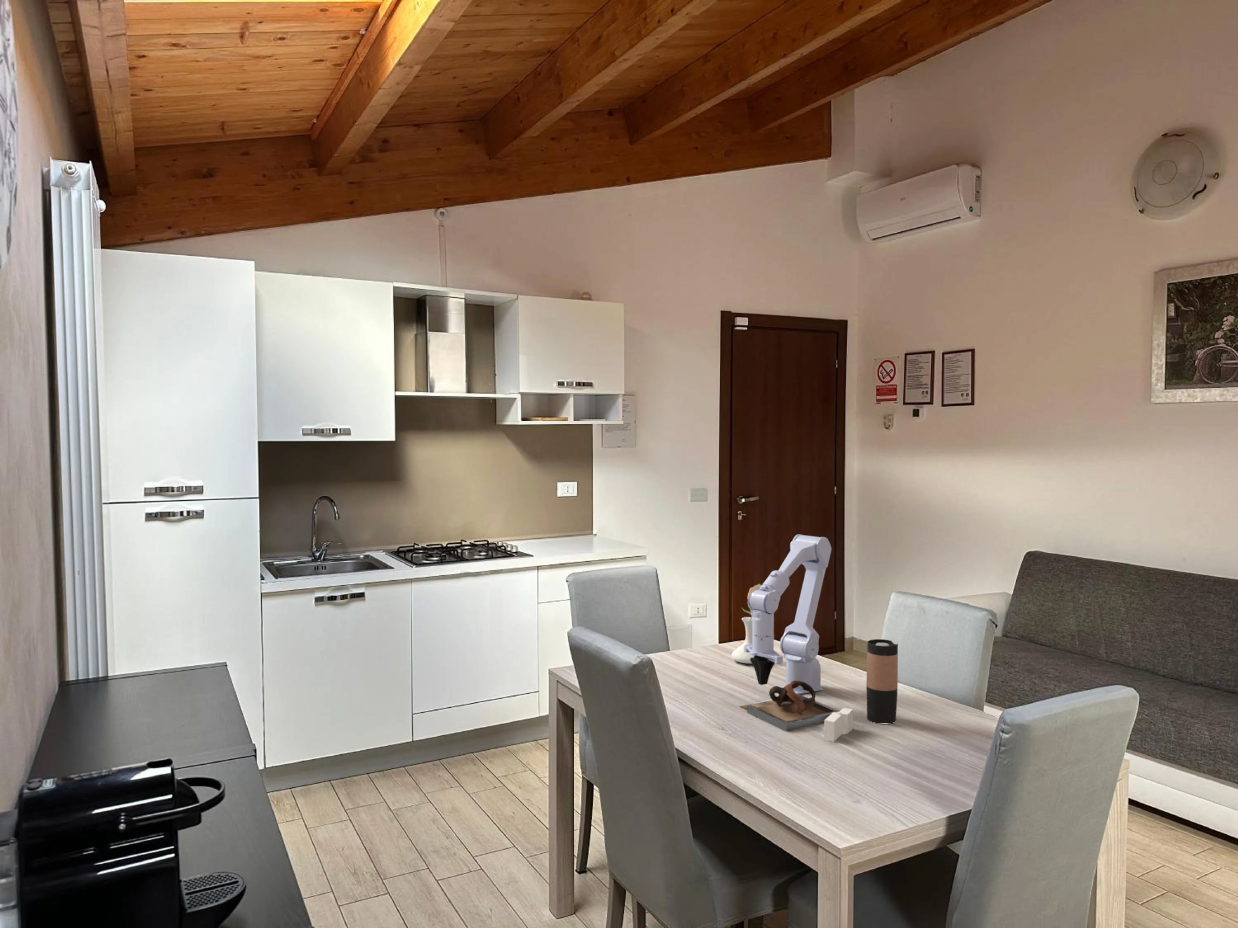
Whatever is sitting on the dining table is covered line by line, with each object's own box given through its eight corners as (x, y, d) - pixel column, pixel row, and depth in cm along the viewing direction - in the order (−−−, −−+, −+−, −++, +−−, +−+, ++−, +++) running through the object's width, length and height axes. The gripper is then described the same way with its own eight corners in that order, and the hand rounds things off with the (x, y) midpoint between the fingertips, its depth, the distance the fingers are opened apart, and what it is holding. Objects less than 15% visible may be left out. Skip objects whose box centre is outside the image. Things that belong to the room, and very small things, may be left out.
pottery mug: (802, 702, 239) (814, 680, 235) (809, 728, 231) (822, 706, 227) (761, 693, 237) (772, 670, 233) (766, 719, 229) (778, 696, 225)
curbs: (800, 701, 241) (800, 694, 241) (841, 719, 226) (841, 711, 226) (746, 712, 232) (746, 704, 232) (786, 731, 218) (786, 723, 218)
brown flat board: (785, 700, 245) (785, 694, 245) (835, 721, 227) (835, 715, 227) (738, 709, 237) (738, 703, 237) (786, 732, 219) (786, 725, 219)
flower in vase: (728, 664, 278) (728, 585, 276) (734, 655, 288) (734, 579, 287) (770, 668, 274) (770, 588, 273) (774, 658, 285) (775, 581, 283)
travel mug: (862, 721, 225) (864, 644, 224) (869, 712, 232) (870, 637, 231) (893, 726, 221) (895, 647, 220) (899, 717, 228) (900, 640, 227)
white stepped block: (828, 747, 208) (828, 723, 208) (802, 732, 219) (802, 709, 219) (881, 739, 213) (881, 716, 213) (853, 724, 224) (853, 702, 224)
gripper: (735, 630, 244) (735, 678, 245) (767, 642, 232) (767, 693, 232) (755, 627, 248) (755, 675, 248) (789, 638, 235) (788, 689, 236)
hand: (762, 683), depth 241 cm, fingers closed
